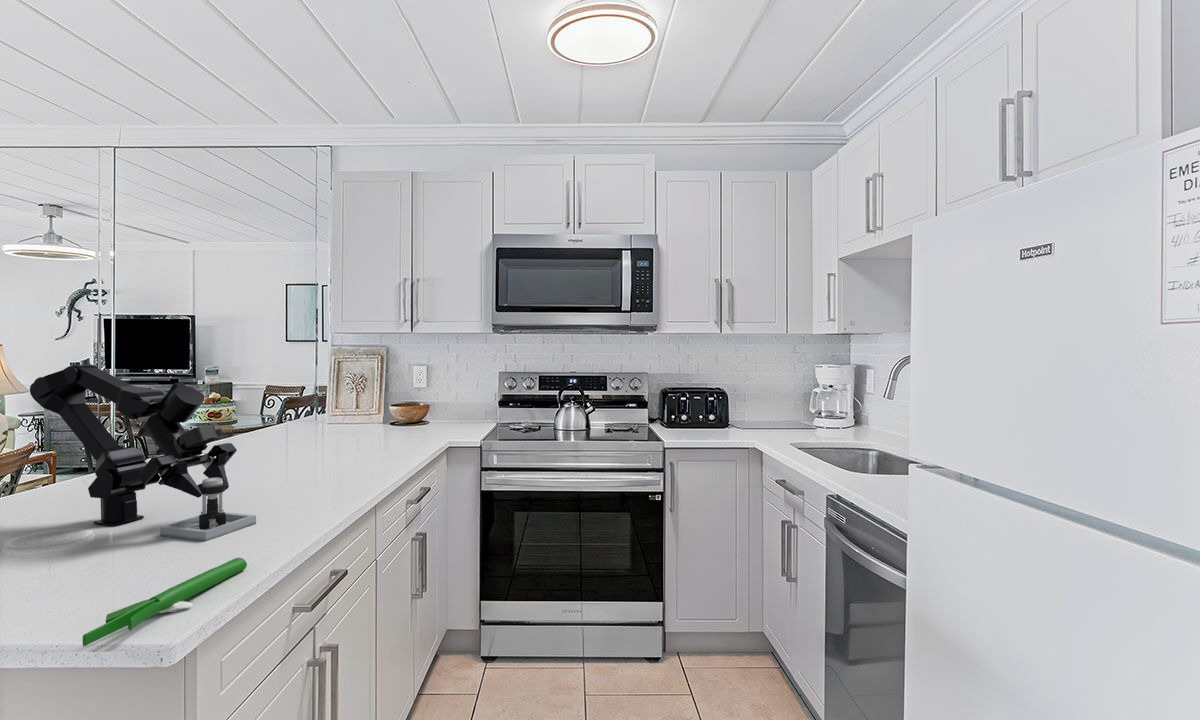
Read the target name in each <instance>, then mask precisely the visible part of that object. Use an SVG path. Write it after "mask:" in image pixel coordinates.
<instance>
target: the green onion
mask: <svg viewBox="0 0 1200 720" xmlns="http://www.w3.org/2000/svg"><path fill="white" fill-rule="evenodd" d="M247 566H248V564H247V561H246V559H244V558H243V557H236V558H233V559H230V560H228V561H227V562H225V563H222V564H219V565H218V566H215V567H212V568H211V569H208V570H206V571H204V572H201V573H199V574H197V575H195V576H193V577H190V578H188V579H187V580H185V581H183V582H180V583H178V584H176V585H174V586H172V587H170V588H168V589H166V590H164V591H162V592H160V593H157V594H156V595H154V596H152V597H150V598H149V599H145V600H142V601H138V602H136V603H134V604H131V605H129V606H125V607H123V608H119V609H118V610H115V611H113V612H110V613H107V614H106V617H105V623H104V624H102V625H99V626H98V627H96V628H94V629H92V630H90V631H87V632H85V633H84V634H83V635H82V646H83V647H86V646H88V645H90V644H92V643H94V642H96V641H99V640H101V639H102V638H104V637H106V636H108V635H111V634H113V633H115V632H117V631H119V630H121V629H123V628H125V627H127V629H128V631H129V632H131V631H132V630H133V629H134V628H135V627H136V626H139V624H141V623H143V622H145V621H146V620H148V619H149V618H151V617H153V616H154V615H156V614H164V613H175V612H177V611H178V610H180V609H182V608H189V607H192V606H194V604H193V603H191V602H189V601H185V600H187V599H190V598H192V597H194V596H195V595H197V594H199V593H201V592H204V591H205V590H207V589H209V588H211V587H213V586H215V585H216V584H219V583H221V582H223V581H224V580H226V579H228V578H230V577H232V576H234V575H236V574H239V573H240V572H242V571H244V570H246V568H247Z"/></svg>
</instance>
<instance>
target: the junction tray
mask: <svg viewBox="0 0 1200 720" xmlns="http://www.w3.org/2000/svg"><path fill="white" fill-rule="evenodd" d="M224 512H225V511H224ZM206 514H207V512H206ZM225 514H226V524H224V525H221V526H218V527H215V528H207V529H200V528H199V527H192V528H190V526H196V525H199V523H193V522H194V521H199V515H200V514H199V515H195V516H193V517H189V518H185V519H182V520H178V521H175V522H172V523H168V524H165V525H162V526H159V534H160V537H166V538H167V537H168V538H175V539H187V540H192V541H202V542H208V541H210V540H213V539H216V538H219V537H222V536H225V535H227V534H230V533H233V532H236V531H240V530H242V529H245V528H248V527H251V526H253V525H256V524H257V514H248V513H247V514H246V513H237V512H235V513H234V512H225ZM190 522H192V523H190Z"/></svg>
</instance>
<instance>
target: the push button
mask: <svg viewBox="0 0 1200 720" xmlns="http://www.w3.org/2000/svg"><path fill="white" fill-rule="evenodd" d="M197 486H198V487H199V489H200V490H201V492H202V495H201V497H202V498H201V499H202V500H201V501H202V502H201V503H202V507H201V509H202V511H200V514H199V521H194V522H193V523H199V525H196V526H190V528H192V527H199V528H200V529H207V528H215V527H218V526H221V525H224V524H226V514H225V508H223V493H224V492H225V491H226V486H227V482H224V481H222V478H208V477H207V478H203V479H202V482H201V483H199V484H197ZM206 513H207V514H206ZM190 523H192V522H190Z"/></svg>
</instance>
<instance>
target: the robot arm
mask: <svg viewBox="0 0 1200 720" xmlns="http://www.w3.org/2000/svg"><path fill="white" fill-rule="evenodd" d="M87 391H91V392H92V393H95V394H96V395H98V396H100V397H102V398H104V399H106V400H108V401H110V402H112V403H113V404H115V408H116V410H117V411H118V412H119V413H121V414H122V415H123V416H124V417H125V418H127V419H129V420H139V419H147V420H146V421H145V422H144V423H140V424H139V430H138V431H137V436H138V437H140V438H142V437H148V436H149V437H150V438H151V440H152V441H153V442H154V443H155V445H156V447H158V449H157V450H156V451H155V453H156V454H157V455H158V456H153V457H151V458H150V459H149V460H148V459H147V458H146V457H144V456H143V455H142V453H141V452H140V451H139V449H138V448H136V447H135V446H133V447H127V448H123V447H122V446H121V445H120V444H119V443H118V442H117V440H116V439H115V438H114V437H113V435H112V434H111V433H110V431H108V429H107V428H106V427H105V425H103V423H102V422H101V420H100V419H99V418H98V417H97V416H96V414H95V413H94V411H92V409H90V407H89V406H88V404H87V403H86V401H85V400H86V396H87V395H86V393H87ZM29 394H30V396H31V397H32V399H33V400H34V401H35V402H36V403H37V404H38V405H40V407H42V408H43V409H45V410H48V411H50V412H51V413H52V412H53V413H55V414H57V415H59V416H60V417H61V419H62V420H63V421H64V422H65V424H66V425H67V426H68V428H69V429H70V430H71V431H72V432H73V434H74V435H75V436H76V438H77V439H78V440H79V441H80V442H81V444H82V445H83V446H84V447H85V449H86V450H87V451H88V452H89V454H90V455H91V456H92V458H93V459H94V461H95V470H94V474H95V476H96V477H95V478H94V480H93V481H92V482H91V484H90V485H89V486H88V488H87V490H88V491H87V492H88V493H89V497H90V498H92V499H93V498H94V499H100V519H97V520H94V521H93V525H94V524H95V525H103V526H110V527H111V526H112V527H115V526H119V525H123V524H127V523H130V522H134V521H137V520H141V519H144V518H145V516H144V515H143V514H142V515H141V514H140V515H139V514H138V500H137V491H143V490H145V489H146V487H147V486H149V485H153V484H156V483H158V485H159V486H163V485H164V486H166V487H169V488H172V489H175V490H179V491H180V492H183V493H186V494H189V495H190V496H193V497H195V498H198V499H199V498H201V497H202V492H201V490H200V489H199V487H198V486H197V485H198V484H197V483H196V482H195V480H194V479H193V477H192V476H191V475H190V473H189V471H188V468H190V467H196V466H200V465H202V466H203V467H204V469H205V470H204V471H203V475H204V476H205V477H207V478H222V481H224V482H227V486H226V490H229V487H230V486H229V485H230V484H229V481H228V477H227V474H226V473H227V472H226V469H225V465H226V464H227V463H228V462H229V461H230V459H231V458H232V457H233V456H234V455H235V453H236V452H237V451H238V449H237V448H236V447H235V445H234V444H233V443H231V442H226V443H219V444H215V445H213V446H212V447H211V449H210V450H209V451H208V452H207V453H203V451H206V449H207V448H208V447H209V446H208V445H207V444H209V443H211V442H212V441H216V440H218V439H219V437H220V436H222V435H223V430H222V428H221V426H220V425H219V424H218V423H217V422H215V421H213V422H208V423H207V424H204V425H200V426H195V427H193V428H192V429H189V430H186V429H185V428H184V427H183V425H182V424H181V423H186V422H188V421H189V420H190V419H191V418H192V416H193V415H194V414H195V413H196V412H197V411H198V409H199V408H200V407H201V405H202V404H203V403H204V401H205V397H204V395H203V393H202V392H201V391H199V390H197V389H196V388H193V387H192V386H188V385H186V384H185V383H184V382H174V383H173V384H172V385H171V386H170V388H169V390H168V391H167V393H166V394H165V392H163V391H161V390H159V389H155V388H150V387H143V386H136V385H133V384H130V383H128V382H127V381H124V380H122V379H120V378H118V377H117V376H114V375H112V374H110V373H108V372H106V371H104V370H102V369H100V368H99V367H98V366H97V365H94V364H88V363H87V364H72V365H70V366H67V367H65V368H63V369H61V370H59V371H55V372H52V373H50V374H47V375H44V376H39V377H37V378H36V379H35V380H34V382H32V384H30V386H29ZM147 461H148V462H147ZM226 490H225V491H226Z"/></svg>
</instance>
